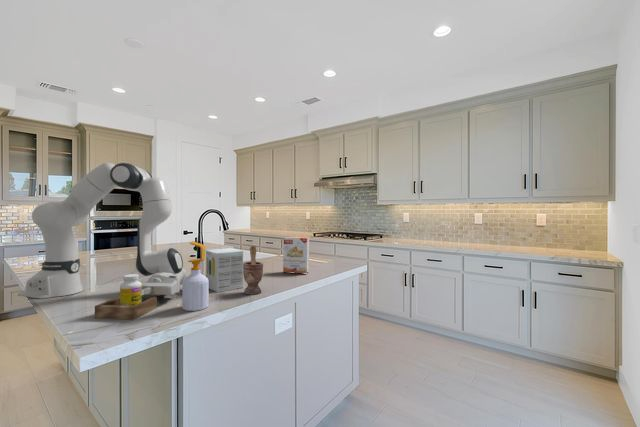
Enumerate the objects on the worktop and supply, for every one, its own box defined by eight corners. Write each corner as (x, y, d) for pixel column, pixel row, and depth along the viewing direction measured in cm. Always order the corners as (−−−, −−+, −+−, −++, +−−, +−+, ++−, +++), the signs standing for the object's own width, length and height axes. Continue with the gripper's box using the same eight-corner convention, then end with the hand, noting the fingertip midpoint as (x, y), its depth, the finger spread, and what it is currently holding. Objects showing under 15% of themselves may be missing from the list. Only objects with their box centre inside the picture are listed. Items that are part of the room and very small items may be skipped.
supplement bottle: (131, 314, 108) (131, 277, 108) (115, 313, 109) (115, 276, 109) (145, 308, 114) (146, 274, 114) (130, 307, 116) (130, 272, 116)
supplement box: (204, 286, 147) (204, 249, 147) (230, 282, 156) (231, 247, 156) (216, 292, 137) (216, 253, 137) (243, 287, 146) (243, 250, 146)
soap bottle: (187, 304, 121) (187, 240, 120) (211, 303, 121) (211, 240, 121) (178, 311, 112) (178, 243, 111) (204, 311, 112) (204, 243, 112)
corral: (94, 317, 105) (94, 306, 105) (121, 306, 117) (121, 295, 117) (133, 319, 103) (133, 307, 103) (156, 307, 116) (156, 297, 116)
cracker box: (282, 273, 178) (283, 237, 178) (285, 271, 184) (286, 236, 184) (306, 274, 176) (307, 237, 175) (308, 272, 182) (309, 236, 181)
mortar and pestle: (238, 290, 142) (238, 246, 141) (256, 287, 146) (256, 245, 146) (246, 296, 132) (247, 249, 132) (265, 293, 137) (266, 248, 136)
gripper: (135, 275, 130) (110, 283, 116) (182, 277, 128) (163, 285, 114) (135, 290, 130) (111, 300, 116) (182, 292, 128) (163, 302, 114)
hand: (137, 293), depth 115 cm, fingers closed, pressing on supplement bottle
